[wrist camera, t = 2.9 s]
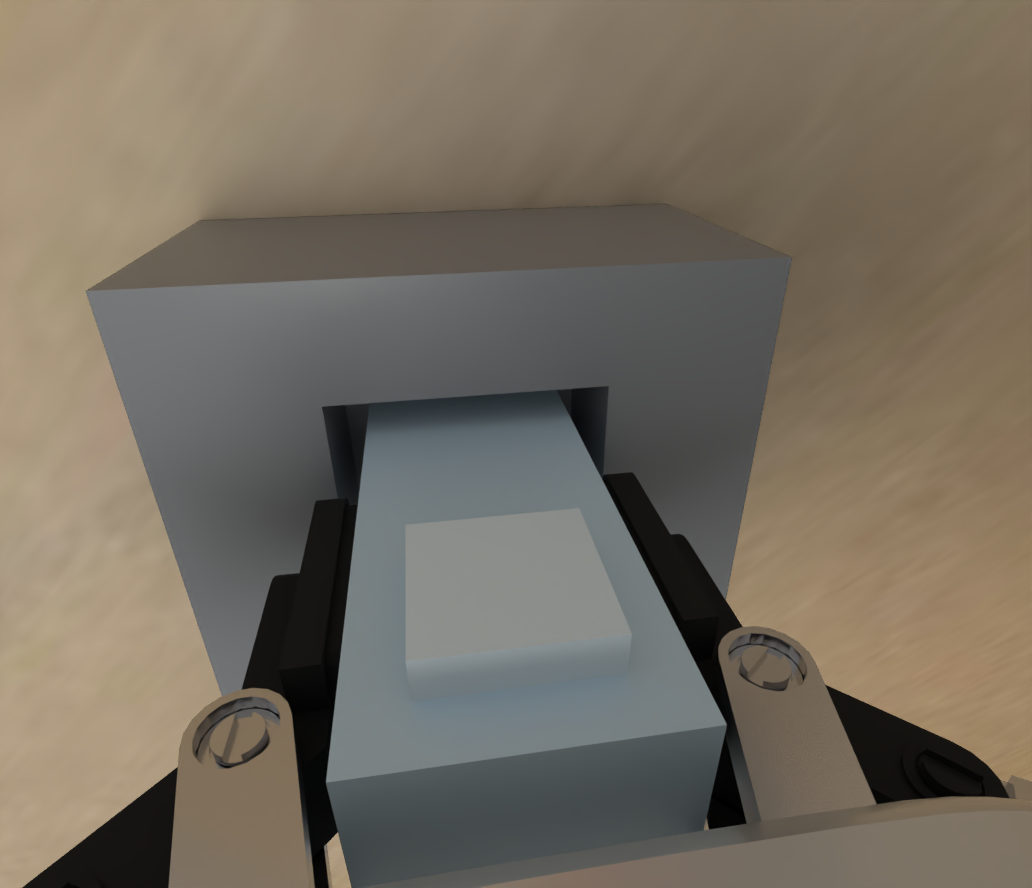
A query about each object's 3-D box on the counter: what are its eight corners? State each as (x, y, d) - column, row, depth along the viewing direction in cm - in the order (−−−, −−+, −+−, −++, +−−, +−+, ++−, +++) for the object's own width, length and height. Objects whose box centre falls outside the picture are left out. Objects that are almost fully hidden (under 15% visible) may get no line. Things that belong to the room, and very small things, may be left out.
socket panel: (666, 203, 17) (792, 257, 12) (617, 706, 27) (673, 868, 21) (199, 220, 16) (85, 291, 10) (324, 746, 25) (301, 932, 20)
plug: (543, 341, 15) (735, 684, 6) (542, 505, 17) (682, 925, 8) (369, 351, 14) (316, 740, 6) (390, 519, 17) (375, 982, 8)
